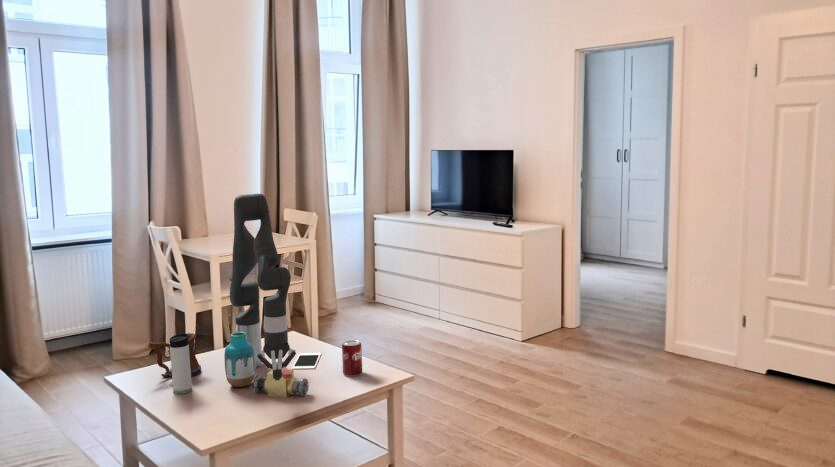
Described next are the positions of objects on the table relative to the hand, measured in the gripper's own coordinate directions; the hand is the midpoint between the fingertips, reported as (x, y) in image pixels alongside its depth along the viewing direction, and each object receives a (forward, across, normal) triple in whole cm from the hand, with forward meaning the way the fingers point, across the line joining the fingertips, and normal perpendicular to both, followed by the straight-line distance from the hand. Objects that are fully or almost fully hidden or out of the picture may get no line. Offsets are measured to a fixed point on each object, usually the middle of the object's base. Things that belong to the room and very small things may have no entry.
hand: (277, 379), depth 217 cm
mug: (+10, -36, +42) cm, 56 cm away
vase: (+10, -12, +23) cm, 28 cm away
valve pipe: (+9, +1, +11) cm, 14 cm away
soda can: (+9, +28, +23) cm, 37 cm away
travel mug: (+10, -32, +24) cm, 42 cm away
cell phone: (+10, +13, +42) cm, 45 cm away
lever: (0, +2, +6) cm, 6 cm away
